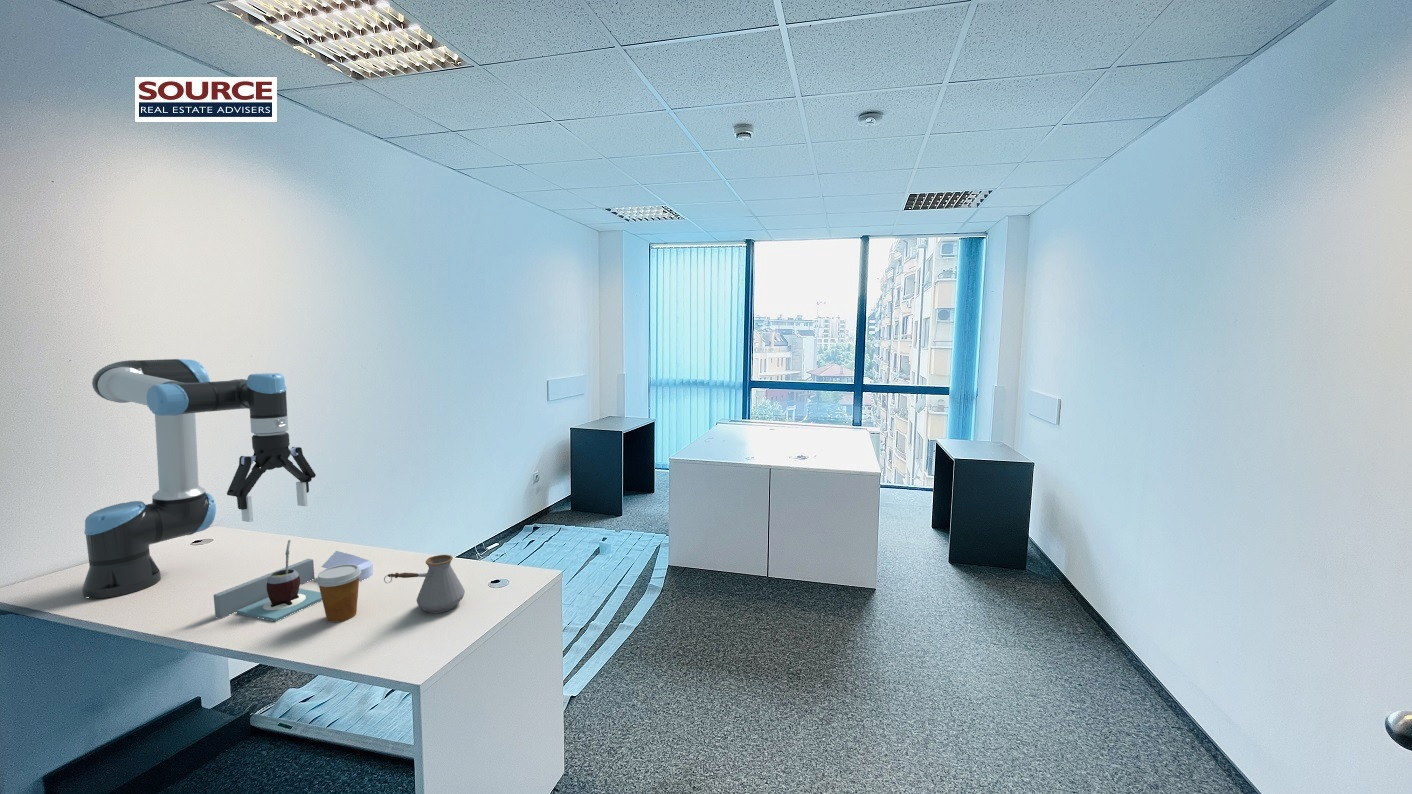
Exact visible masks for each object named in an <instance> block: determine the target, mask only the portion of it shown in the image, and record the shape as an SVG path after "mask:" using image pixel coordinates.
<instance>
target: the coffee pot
mask: <svg viewBox="0 0 1412 794" xmlns="http://www.w3.org/2000/svg"><path fill="white" fill-rule="evenodd" d="M452 561H453V555H450V554H438V555H434V556H430V557H428V558H427V559H426V560H425V564H426V565H427V567H428V569H427V572H426V573H425V572H424V573H416V572H401V573H400V572H395V573H389V574H386V575H385V576H384V578H383V581H384V583H385V584H390V583H391V582H392V581H393V578H395V579H398V578H401V579H408V578H411V579H412V578H424V580H423V582H422V585H421V587H420V590H419V593H418V595H417V598H416V602H417V605H418V607H419V608H420V609H423V610H424V611H426V612H427V613H431V614H438V613H439V614H440V613H444V612H447V611H451V610H452V609H454V608H455V607H457V605H458V604H459V603H460V602H461V601H462V600H463V598H464V595H465V593H466V591H465V589H464V586H463V585H462V583H461V581H460V579H459V577H458V576H457V574H456V573H455V571H454V569H453V567H452V565H451V563H452ZM387 577H389V578H390V581H388V582H387V581H386V578H387Z"/></svg>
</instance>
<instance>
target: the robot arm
mask: <svg viewBox="0 0 1412 794" xmlns="http://www.w3.org/2000/svg"><path fill="white" fill-rule="evenodd" d="M91 385H92V388H93V391H94V392H95V393H96V394H97V396H99V397H100V398H103V399H104V400H106V401H110V402H113V403H120V404H124V403H125V404H126V403H135V404H138V405H142V406H143V405H144V406H146V407H147V408H148V409H149V410H150V411H151V412H152V414H153V415H154V424H155V442H156V457H157V458H156V460H157V475H158V478H157V479H158V490H157V491H156V492H155V493H153V494H152V497H151V498H152V499H151V500H152V501H151V502H152V503H147V504H146V503H144V502H143V501H141V500H135V501H134V500H133V501H127V502H121V503H117V504H112V505H109V506H105V507H103V508H100V509H97V510H96V511H93V512H91V513H90V514H89V515H88V516H86V518H85V520H84V535H85V539H86V548H87V556H88V564H89V567H88V571H87V574H86V576H85V579H84V582H83V585H82V587H81V590H82V597H83V596H84V597H83V598H85V597H89V598H100V599H107V597H109V598H114V597H119V596H124V595H127V594H131V593H136V592H139V591H141V590H144V589H147V588H150V587H151V586H154V585H155V584H157V583H159V582H160V581H161V579H162V576H161V571H160V568H159V567H158V565H157V564H156V562H155V561H154V559H153V557H152V556H151V553H150V545H152V544H156V543H157V544H158V543H160V542H161V543H162V542H166V541H168V540H173V539H175V538H181V537H184V536H191V535H195V534H197V533H199V532H200V533H201V532H203V531H206V530H207V529H208V528H210V527H211V526H212V524H213V523H214V521H215V518H216V514H217V513H216V512H217V507H216V506H217V505H216V503H215V499H214V497H213V495H212V494H210V493H209V492H207V491H206V489H205V488H204V487H202V486H201V485H199V468H198V467H199V466H198V465H199V464H198V445H197V444H198V443H197V424H196V413H197V414H198V413H206V412H221V411H231V410H241V409H242V410H243V409H246V410H249V420H250V433H252V434H253V435H252V436H251V444H252V449H253V455H248V456H247V455H241V456H240V457H239V458H238V459H239V460H238V467H237V469H236V471H235V474H234V476H233V478H232V481H231V482H230V485H229V487H228V489H227V491H226V495H227V496H231V497H236V501H237V503H236V504H237V509H238V510H241V521H242V522H249V523H251V522H254V515H253V503H252V501H253V500H252V495H249V493H250V492H251V491H252V489H253V488H254V487H255V485H256V484H257V482H258V481H259V480H260V478H261V476H262V475H263V474H265V473H266V472H267V471H271V470H274V469H280V468H284V469H285V470H286V471H287V472H289V473H290V474H291V475H292V476H293V477H294V478H296V479H297V480H298V481H295V488H296V500H297V501H296V502H297V506H299V507H307V506H308V494H307V493H310V489H309V488H310V487H309V485H310V484H309V483H310V482H312V479H313V478H315V477H316V476H317V474H316V473H315V471H314V470H313V468H312V467H311V465H310V463H309V462H308V461H307V459H306V458H305V456H304V453H303V449H302V447H301V446H292V447H291V448H289V447H290V435H289V433H288V432H287V431H289V419H288V418H289V417H288V401H287V386H286V381H285V376H284V375H283V374H282V373H277V372H276V373H273V372H272V373H271V372H270V373H269V372H268V373H265V372H264V373H263V372H262V373H251V374H249V375H248V376H247V379H246V378H245V379H243V378H238V379H231V380H222V381H221V380H220V381H219V380H217V381H211V379H210V377H209V374H208V372H207V370H206V369H205V367H204V366H203V365H202V364H201V363H200V362H198V361H197V360H194V359H183V358H182V359H181V358H180V359H179V358H171V359H169V358H168V359H166V358H165V359H140V360H138V359H137V360H136V359H132V360H131V359H130V360H121V361H116V362H114V363H110V364H108V365H105V366H102V368H100V369H99V370H98V371H97V372H96V373H95V374H94V375H93V378H92V381H91ZM290 456H292V458H293V460H294V462H295V463H296V464H297V465H298V467H297V466H296V465H294V463H293V461H291V460H290V459H289V457H290ZM254 463H255V464H254ZM253 464H254V465H253ZM252 465H253V466H252ZM250 470H251V471H250Z"/></svg>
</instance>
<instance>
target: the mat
mask: <svg viewBox="0 0 1412 794" xmlns="http://www.w3.org/2000/svg"><path fill="white" fill-rule="evenodd" d="M298 596H299V598H297V599H294V600H291V602H292V605H287V604H285V603H283V604H280V605H277V606H274V607H271V605H272V603H271V601H270V599H269V597H268V598H266V599H263V600H261V601H258V602H256V603H254V604H251V605H249V606H247V607H244V608H242V609H239V610H237V612H236V613H239V614H238V615H242V614H244V615H243V616H246V615H248V616H247V617H251V616H253V618H256V617H259V618H258V619H261V618H264V619H263V620H265V619H268V620H267V621H270V620H273V621H272V622H275V621H277V622H279V621H281V620H283V619H285V618H284V617H286V616H288V615H290V614H292V613H294V612H296V613H298V612H300V611H299V610H301V609H303V610H305V609H307V608H309V607H311V606H314V605H315V603H316V604H318V603H320V602H322V601H321V600H322V597H321V592H320V591H316V590H309V589H305V588H300V587H299V591H298ZM317 602H318V603H317ZM310 605H311V606H310ZM308 606H309V607H308ZM306 607H307V608H306ZM304 608H305V609H304ZM297 611H298V612H297ZM301 611H302V610H301ZM294 614H295V613H294ZM292 615H293V614H292ZM290 616H291V615H290ZM288 617H289V616H288ZM282 618H283V619H282ZM286 618H287V617H286ZM280 619H281V620H280ZM278 620H279V621H278Z"/></svg>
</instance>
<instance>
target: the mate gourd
mask: <svg viewBox="0 0 1412 794" xmlns="http://www.w3.org/2000/svg"><path fill="white" fill-rule="evenodd" d="M290 546H291V539H289V540H287V545H286V551H285V567H286V570H280V569H279V570H280V571H277V570H276V571H277V572H275V571H274V572H275V573H273V574H271V575H270V577H269V578H268V580H267V593H268V596H269V599H270V601H271V603H272V605H271V607H274V606H277V605H280V604H283V603H285V604H287V605H292V602H291V600H294V599H297V598H299V596H298V591H299V588H300V586H301V585H300V576H299V574H298V572H296V571H295V570H293V569H288V566H289V561H290V560H289V557H290Z"/></svg>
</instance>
